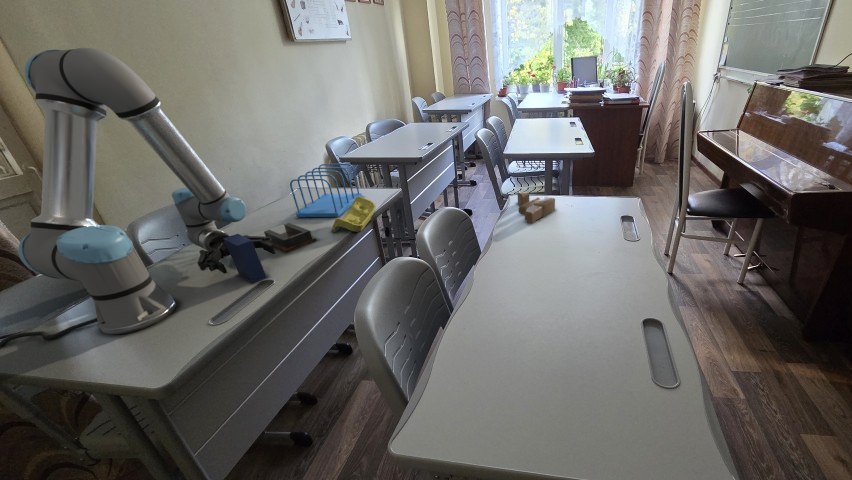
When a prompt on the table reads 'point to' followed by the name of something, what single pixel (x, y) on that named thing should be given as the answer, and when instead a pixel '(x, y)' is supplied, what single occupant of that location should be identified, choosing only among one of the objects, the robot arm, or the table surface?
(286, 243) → the dark brown block holder
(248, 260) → the navy blue rectangular block
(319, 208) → the file sorter
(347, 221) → the plastic component
